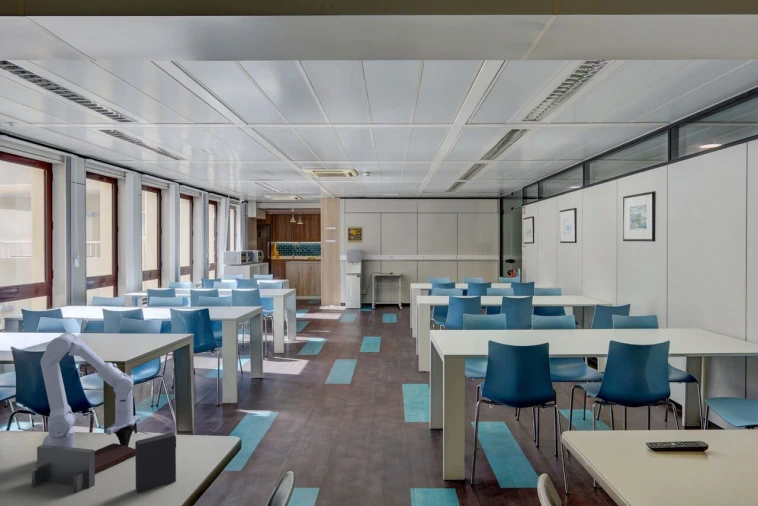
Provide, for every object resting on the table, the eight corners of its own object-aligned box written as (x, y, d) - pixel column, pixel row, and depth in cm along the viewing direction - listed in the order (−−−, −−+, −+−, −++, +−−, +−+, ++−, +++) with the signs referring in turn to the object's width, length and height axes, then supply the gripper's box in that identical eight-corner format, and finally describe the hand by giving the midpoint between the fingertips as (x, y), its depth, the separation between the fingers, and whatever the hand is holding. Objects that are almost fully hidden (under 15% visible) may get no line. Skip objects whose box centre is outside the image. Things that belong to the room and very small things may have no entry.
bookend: (28, 486, 142) (27, 451, 142) (43, 478, 147) (42, 444, 147) (81, 493, 138) (80, 456, 138) (94, 484, 142) (94, 449, 142)
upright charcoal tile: (173, 477, 147) (172, 431, 147) (176, 482, 143) (176, 435, 143) (135, 488, 140) (134, 440, 140) (137, 494, 136) (137, 444, 136)
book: (136, 457, 163) (136, 448, 163) (82, 481, 145) (82, 471, 145) (113, 451, 168) (113, 442, 168) (58, 474, 150) (58, 464, 150)
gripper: (118, 417, 159) (118, 456, 159) (147, 404, 173) (148, 439, 173) (101, 416, 161) (101, 454, 161) (131, 403, 175) (132, 438, 175)
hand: (124, 446), depth 167 cm, fingers closed
